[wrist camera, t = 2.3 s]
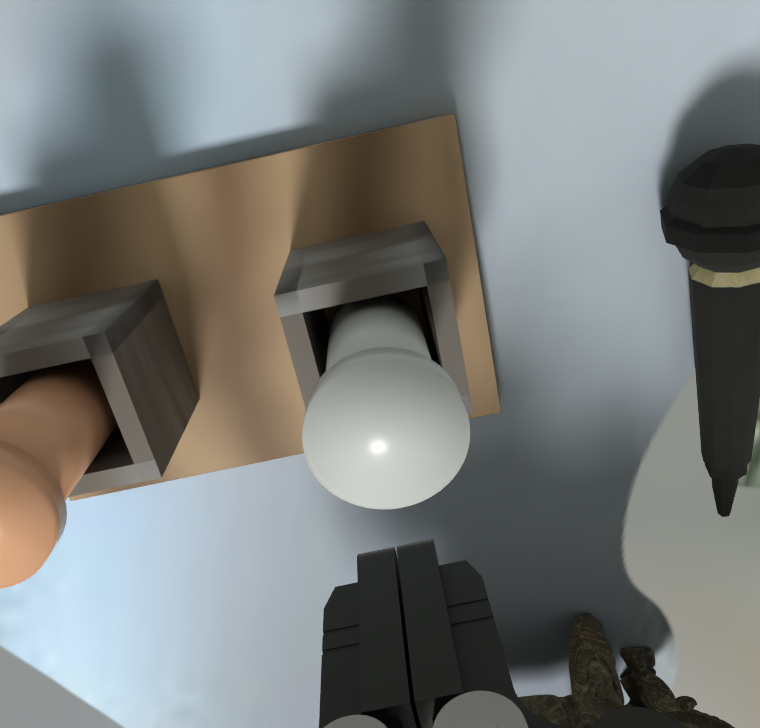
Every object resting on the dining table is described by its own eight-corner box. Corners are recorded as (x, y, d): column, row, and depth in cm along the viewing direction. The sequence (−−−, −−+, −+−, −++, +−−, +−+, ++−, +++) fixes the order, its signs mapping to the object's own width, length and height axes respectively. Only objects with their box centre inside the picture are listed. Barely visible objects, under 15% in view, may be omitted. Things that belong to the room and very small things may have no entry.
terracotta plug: (111, 335, 25) (12, 438, 18) (152, 440, 27) (77, 573, 19) (-6, 360, 25) (-152, 472, 18) (42, 463, 27) (-73, 603, 20)
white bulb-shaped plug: (423, 268, 25) (455, 344, 17) (444, 379, 26) (481, 491, 19) (302, 294, 25) (282, 380, 17) (331, 402, 27) (324, 523, 19)
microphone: (721, 464, 40) (729, 121, 30) (810, 522, 35) (855, 134, 25) (646, 504, 38) (629, 159, 28) (727, 569, 33) (741, 181, 24)
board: (451, 113, 28) (487, 122, 21) (496, 403, 34) (538, 491, 26) (-43, 224, 29) (-176, 270, 22) (78, 490, 34) (4, 599, 27)
